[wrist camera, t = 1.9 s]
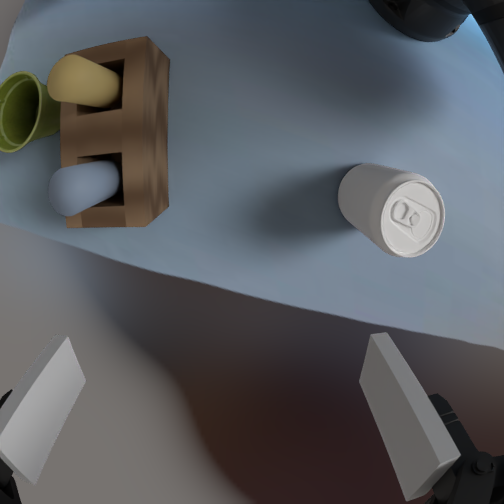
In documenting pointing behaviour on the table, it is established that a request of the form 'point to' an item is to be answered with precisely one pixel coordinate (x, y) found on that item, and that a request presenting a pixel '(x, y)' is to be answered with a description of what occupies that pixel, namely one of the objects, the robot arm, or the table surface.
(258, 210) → the table surface
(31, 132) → the plant pot
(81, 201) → the blue peg
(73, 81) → the ochre peg
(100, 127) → the walnut block
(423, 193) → the beverage can
